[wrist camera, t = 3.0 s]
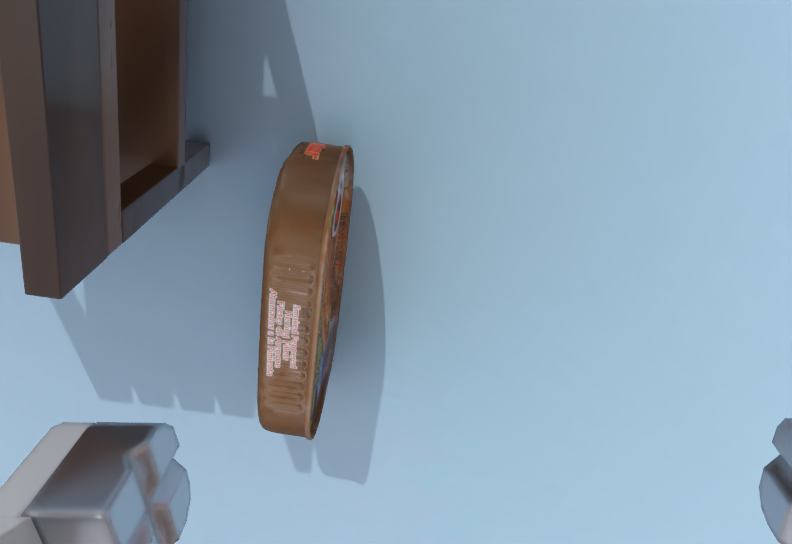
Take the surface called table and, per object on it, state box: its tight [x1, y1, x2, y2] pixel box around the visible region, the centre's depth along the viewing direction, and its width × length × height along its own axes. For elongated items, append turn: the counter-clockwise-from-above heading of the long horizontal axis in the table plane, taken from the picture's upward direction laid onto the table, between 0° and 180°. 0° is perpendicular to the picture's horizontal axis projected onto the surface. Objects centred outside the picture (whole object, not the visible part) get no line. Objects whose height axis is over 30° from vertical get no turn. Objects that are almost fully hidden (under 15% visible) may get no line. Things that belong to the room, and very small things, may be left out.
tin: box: [257, 142, 354, 440], centre depth 28 cm, size 15×3×8 cm, turn 172°
